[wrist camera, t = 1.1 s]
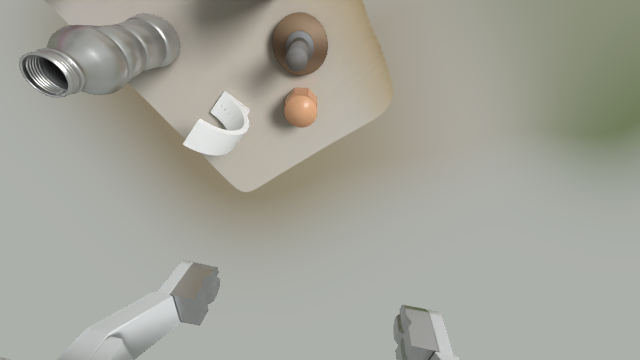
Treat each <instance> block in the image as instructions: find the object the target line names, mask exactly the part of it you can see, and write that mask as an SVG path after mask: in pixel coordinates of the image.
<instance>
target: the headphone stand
mask: <svg viewBox="0 0 640 360" xmlns="http://www.w3.org/2000/svg"><path fill="white" fill-rule="evenodd" d="M249 112H250V109H248V108H247V107H246V106H244V105H243V104H242V103H240V102H239V101H238V100H236V99H235V98H234V97H232V96H231V95H230V94H228V93H227V92H226V91H224V92H223V94H222V95H221V97H220V98H219V100H218V101H217V103H216V104H215V106H214V107H213V109H212V110H211V112H210V113H212V114H213V115H214V116H215V117H217V118H218V119H219V120H220V121H221V122H222V123H223V125H224V126H225V127H226V129H227V130H224V129H221V128H218V127H215V126H213V125H211V124H209V123H207V122H205V121H203V120H202V119H199V120H198V122H197V123H196V125H195V126H194V128H193V129H192V131H191V132H190V134H189V135H188V137H187V138H186V140H185V142H184V143H183V145H184V146H186V147H188V148H190V149H192V150H195V151H197V152H200V153H204V154H208V155H224V154H227V153H229V152H230V151H231V150H232V149H233V148H234V146H235V145H236V144H237V143H238V141H239V140H240V139H241V138H242V136H243V135H244V134H245V133H246V131H247V130H248V128H249V120H248V117H247V114H248V113H249Z"/></svg>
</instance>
